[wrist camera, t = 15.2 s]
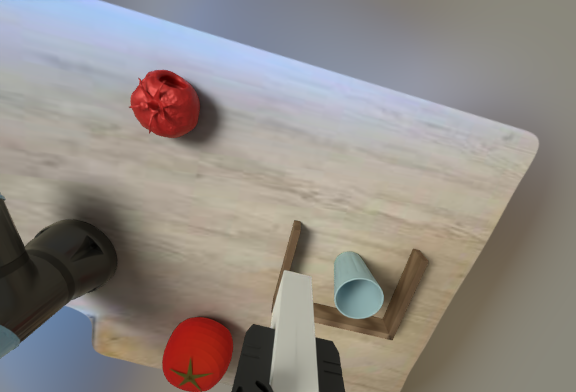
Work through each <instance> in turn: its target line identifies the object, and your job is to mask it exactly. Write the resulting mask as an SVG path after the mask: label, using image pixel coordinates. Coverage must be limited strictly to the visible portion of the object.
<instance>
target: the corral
mask: <svg viewBox="0 0 576 392" xmlns="http://www.w3.org/2000/svg"><path fill="white" fill-rule="evenodd" d="M300 232H301V222H300V221H296V220H294V224H293V227H292V231H291V235H290V239H289V242H288V246H287V250H286V253H285V257H284V261H283V265H282V268H281V272H280V276H279V279H278V283H277V287H276V291H275V294H274V298H273V304H272V311H271V312H272V313H273V308H274V305H275V301H276V297H277V294H278V290H279V286H280V283H281V279H282V275H283V272H284V270H287V271H290V267H291V264H292V260H293V257H294V253H295V250H296V246H297V242H298V239H299V235H300ZM428 262H429V261H428V260H427V259H426V258H425V257H424V255H423V254H422V253H421V252H420V251H419V250H416V249H413V250H412V253H411V255H410V257H409V260H408V262H407V264H406V266H405V269H404V271H403V273H402V276H401V278H400V280H399V283H398V285H397V287H396V290H395V292H394V294H393V296H392V299H391V301H390V303H389V306H388V308H387V310H386V313H385V315H384V317H383V319H381V318H377V317H372V316H370V317H367V318H363V319H353V318H349V317H347V316H345V315H343V314H342V313H341V312H340V311H339V310H338V309H337V308H333V307H329V306H325V305H320V304H316V303H313V310H314V322H315V323H320V324H324V325H328V326H333V327H337V328H341V329H346V330H350V331H354V332H359V333H363V334H367V335H372V336H376V337H381V338H385V339H389V340H393V338H394V336H395V334H396V331H397V329H398V327H399V325H400V323H401V321H402V318H403V316H404V314H405V312H406V310H407V308H408V306H409V303H410V301H411V299H412V297H413V295H414V293H415V290H416V288H417V286H418V284H419V282H420V280H421V277H422V275H423V273H424V271H425V269H426V267H427V264H428Z"/></svg>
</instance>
